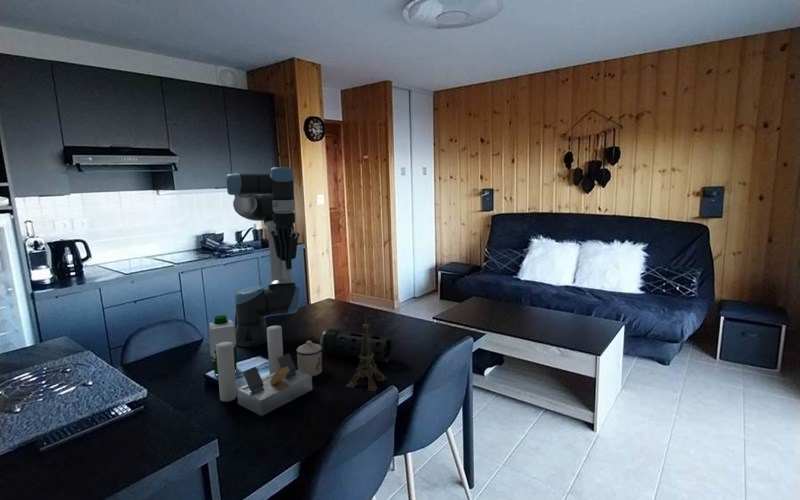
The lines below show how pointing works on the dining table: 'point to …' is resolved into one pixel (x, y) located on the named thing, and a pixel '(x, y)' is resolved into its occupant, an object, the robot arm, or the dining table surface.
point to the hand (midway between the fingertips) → (287, 277)
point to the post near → (226, 371)
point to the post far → (274, 347)
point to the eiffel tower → (366, 368)
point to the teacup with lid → (310, 358)
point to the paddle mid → (279, 375)
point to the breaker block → (274, 392)
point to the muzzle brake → (355, 344)
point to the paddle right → (287, 363)
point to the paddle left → (253, 379)
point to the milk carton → (221, 337)
